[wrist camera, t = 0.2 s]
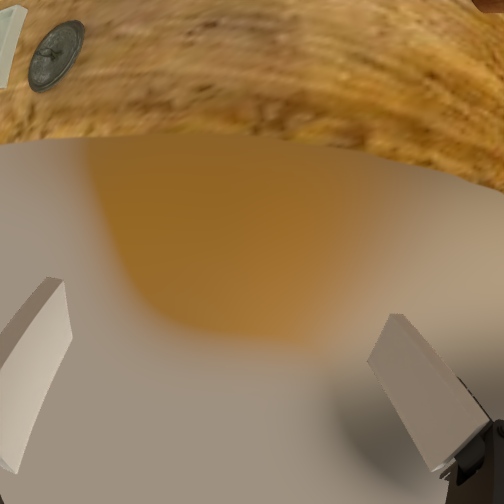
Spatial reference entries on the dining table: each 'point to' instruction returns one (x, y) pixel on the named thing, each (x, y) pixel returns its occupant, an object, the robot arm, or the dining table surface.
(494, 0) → the disposable coffee cup
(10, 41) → the tray
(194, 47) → the dining table surface
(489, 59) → the dining table surface
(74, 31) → the lid
